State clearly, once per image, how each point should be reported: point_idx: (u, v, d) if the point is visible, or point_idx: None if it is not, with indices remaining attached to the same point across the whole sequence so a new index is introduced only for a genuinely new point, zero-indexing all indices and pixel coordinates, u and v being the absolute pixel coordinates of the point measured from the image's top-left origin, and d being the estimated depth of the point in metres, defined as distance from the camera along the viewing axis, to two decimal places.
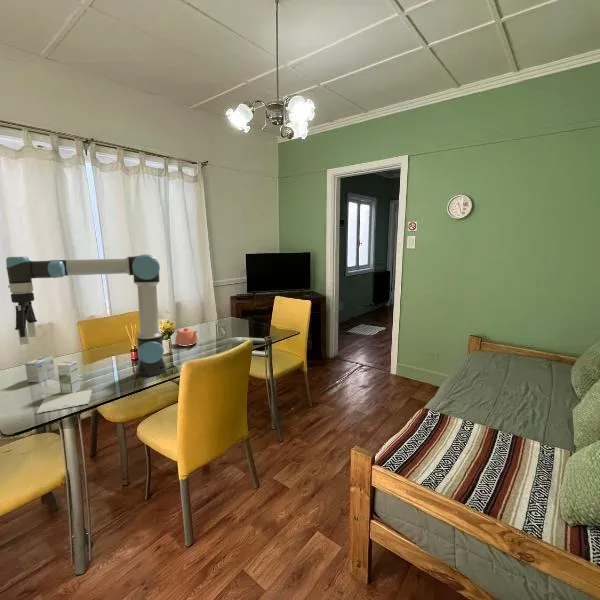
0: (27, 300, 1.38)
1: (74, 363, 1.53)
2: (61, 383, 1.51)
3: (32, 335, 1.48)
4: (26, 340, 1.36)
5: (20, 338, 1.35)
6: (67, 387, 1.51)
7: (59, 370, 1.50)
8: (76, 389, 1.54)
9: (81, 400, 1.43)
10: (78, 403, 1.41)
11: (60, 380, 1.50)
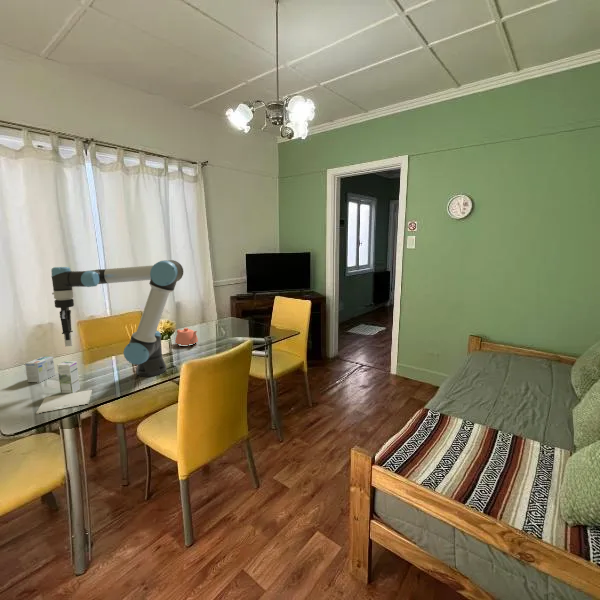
0: (68, 306, 1.55)
1: (74, 363, 1.53)
2: (61, 383, 1.51)
3: None
4: (70, 343, 1.59)
5: (65, 341, 1.58)
6: (67, 387, 1.51)
7: (59, 370, 1.50)
8: (76, 389, 1.54)
9: (81, 400, 1.43)
10: (78, 403, 1.41)
11: (60, 380, 1.50)
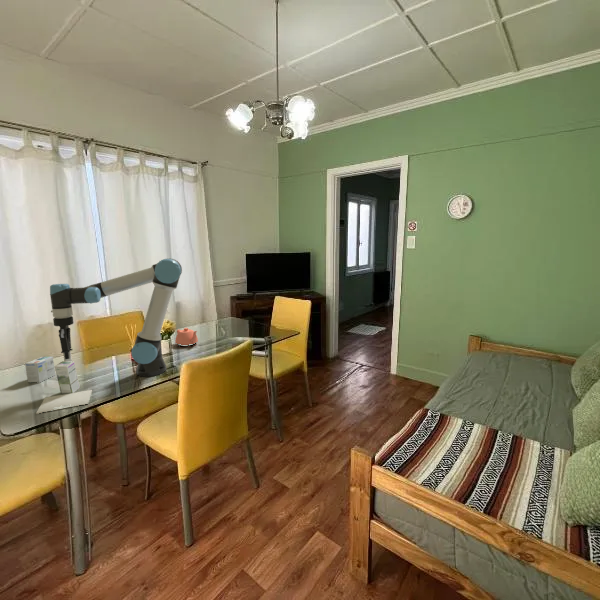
0: (68, 324, 1.50)
1: (72, 364, 1.51)
2: (60, 384, 1.50)
3: None
4: None
5: (65, 360, 1.53)
6: (66, 387, 1.51)
7: (57, 371, 1.48)
8: (76, 388, 1.54)
9: (81, 400, 1.43)
10: (78, 403, 1.41)
11: (59, 381, 1.50)
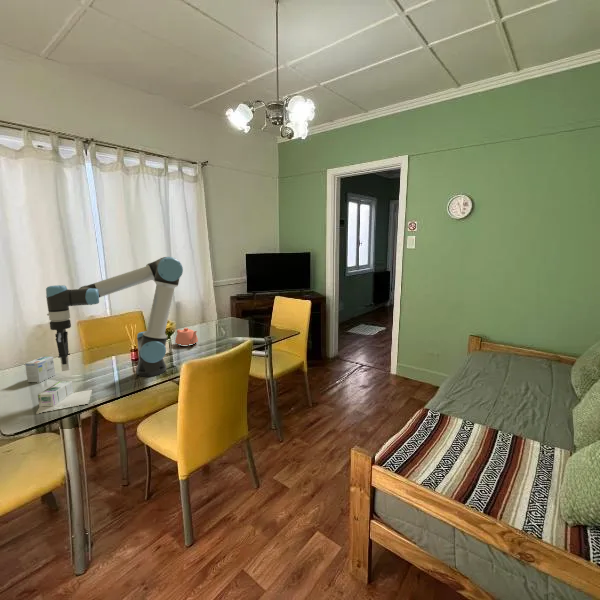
0: (65, 327, 1.43)
1: (52, 397, 1.38)
2: None
3: None
4: (67, 367, 1.48)
5: (62, 365, 1.46)
6: None
7: None
8: (71, 387, 1.51)
9: (81, 400, 1.43)
10: (78, 403, 1.41)
11: None
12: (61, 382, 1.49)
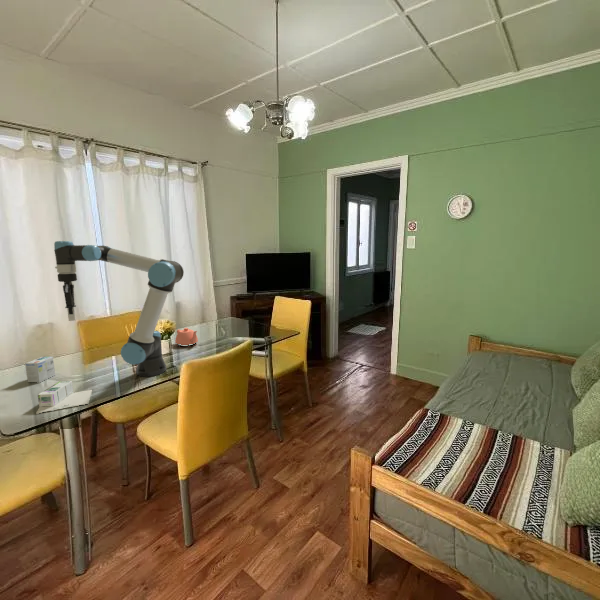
0: (71, 280, 1.56)
1: (52, 397, 1.38)
2: None
3: None
4: (73, 317, 1.60)
5: (69, 315, 1.59)
6: None
7: None
8: (71, 387, 1.51)
9: (81, 400, 1.43)
10: (78, 403, 1.41)
11: None
12: (61, 382, 1.49)
